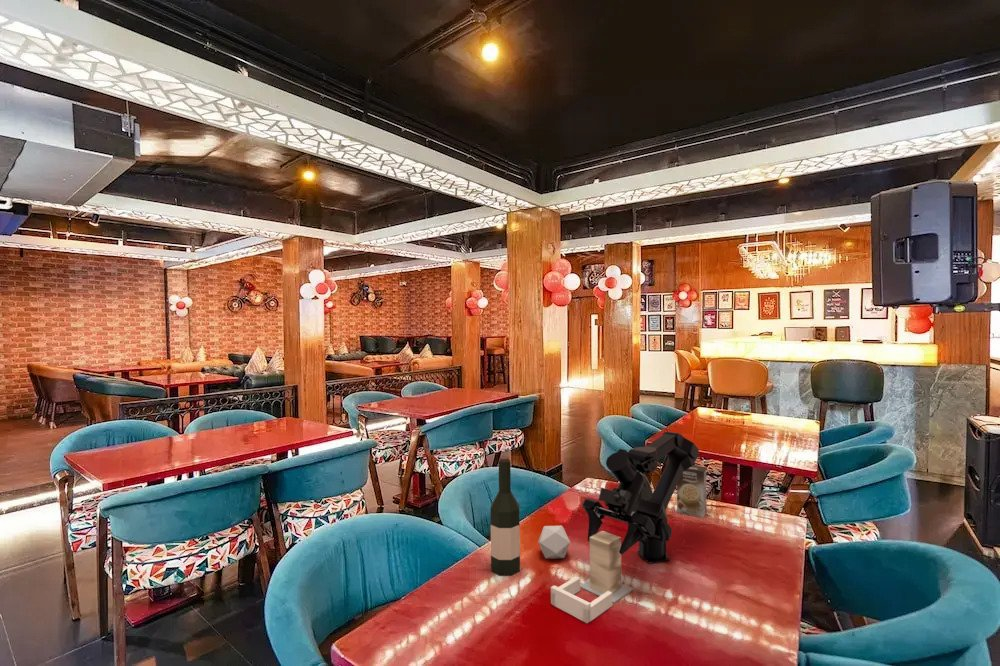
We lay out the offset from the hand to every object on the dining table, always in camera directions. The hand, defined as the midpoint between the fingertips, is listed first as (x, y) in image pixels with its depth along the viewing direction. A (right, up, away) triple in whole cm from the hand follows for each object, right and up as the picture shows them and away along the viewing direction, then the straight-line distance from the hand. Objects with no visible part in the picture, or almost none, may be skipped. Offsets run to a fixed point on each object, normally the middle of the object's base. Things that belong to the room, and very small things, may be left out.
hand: (604, 547), depth 117 cm
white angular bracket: (-7, -10, -7) cm, 14 cm away
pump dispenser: (+22, -10, +45) cm, 51 cm away
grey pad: (+1, -10, 0) cm, 10 cm away
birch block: (0, -10, 0) cm, 10 cm away
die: (-10, -11, +18) cm, 23 cm away
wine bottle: (-24, -11, +11) cm, 29 cm away
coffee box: (+42, -10, +49) cm, 65 cm away
